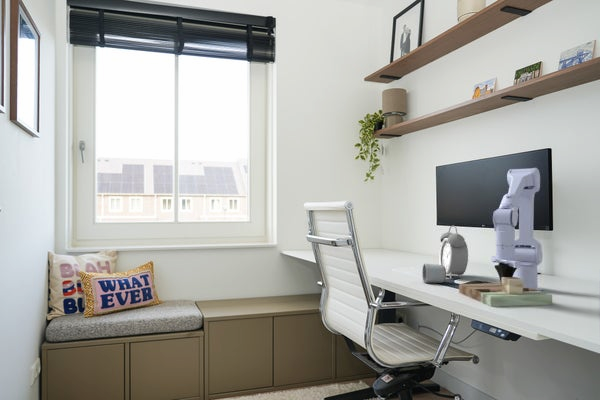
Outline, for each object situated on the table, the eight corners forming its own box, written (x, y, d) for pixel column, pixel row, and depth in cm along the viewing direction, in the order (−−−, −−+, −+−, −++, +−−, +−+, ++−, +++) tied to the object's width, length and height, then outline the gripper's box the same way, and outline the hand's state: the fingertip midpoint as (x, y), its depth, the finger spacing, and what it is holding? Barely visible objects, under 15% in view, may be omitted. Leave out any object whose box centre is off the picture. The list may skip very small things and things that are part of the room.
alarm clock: (437, 274, 207) (437, 224, 207) (456, 273, 207) (456, 224, 207) (449, 280, 190) (449, 226, 191) (470, 279, 190) (470, 226, 191)
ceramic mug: (447, 284, 180) (446, 264, 181) (425, 284, 181) (425, 264, 181) (440, 280, 191) (440, 261, 191) (420, 280, 191) (419, 261, 191)
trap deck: (459, 292, 163) (459, 284, 164) (512, 291, 165) (512, 282, 165) (490, 306, 142) (490, 296, 142) (552, 304, 144) (552, 294, 144)
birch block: (501, 291, 150) (501, 277, 150) (514, 290, 150) (514, 277, 150) (509, 293, 145) (509, 279, 145) (522, 293, 146) (522, 279, 146)
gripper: (482, 243, 158) (483, 283, 158) (505, 247, 144) (506, 291, 144) (502, 243, 159) (502, 283, 159) (527, 247, 145) (527, 290, 145)
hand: (505, 287), depth 152 cm, fingers closed
